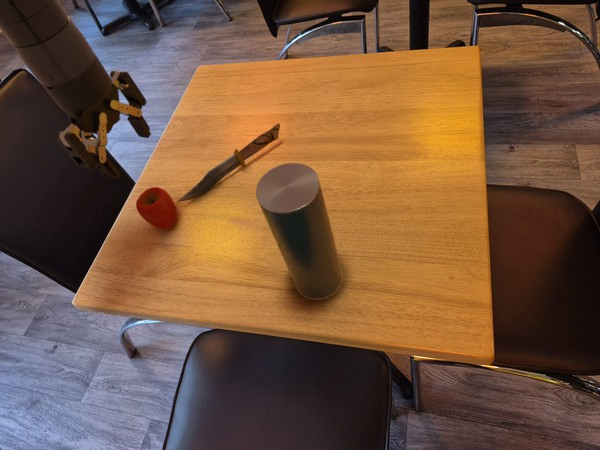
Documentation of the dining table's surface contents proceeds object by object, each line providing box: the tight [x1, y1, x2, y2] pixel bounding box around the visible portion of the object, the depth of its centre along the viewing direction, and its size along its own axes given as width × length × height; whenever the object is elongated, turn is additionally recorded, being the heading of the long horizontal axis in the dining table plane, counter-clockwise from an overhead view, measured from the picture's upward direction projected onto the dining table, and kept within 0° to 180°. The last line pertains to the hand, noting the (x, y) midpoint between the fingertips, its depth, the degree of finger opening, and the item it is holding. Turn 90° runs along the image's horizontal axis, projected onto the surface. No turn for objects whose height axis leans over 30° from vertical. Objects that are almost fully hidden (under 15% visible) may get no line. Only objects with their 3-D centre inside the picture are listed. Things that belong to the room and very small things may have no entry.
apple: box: [135, 186, 178, 230], centre depth 79 cm, size 6×6×8 cm
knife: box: [175, 123, 281, 203], centre depth 84 cm, size 25×1×5 cm, turn 126°
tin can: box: [255, 162, 344, 301], centre depth 60 cm, size 8×8×22 cm
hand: (130, 155), depth 67 cm, fingers open, 8 cm apart
